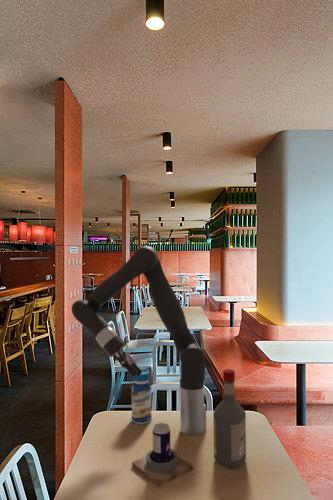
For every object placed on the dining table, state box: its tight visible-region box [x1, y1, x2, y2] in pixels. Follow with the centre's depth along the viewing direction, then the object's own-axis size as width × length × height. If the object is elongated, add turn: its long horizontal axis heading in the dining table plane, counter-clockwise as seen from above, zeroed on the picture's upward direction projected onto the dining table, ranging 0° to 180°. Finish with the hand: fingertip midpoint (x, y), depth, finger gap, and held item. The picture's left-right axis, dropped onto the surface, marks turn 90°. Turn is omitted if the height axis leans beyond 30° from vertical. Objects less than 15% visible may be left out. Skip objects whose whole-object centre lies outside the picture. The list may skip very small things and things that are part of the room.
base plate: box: [131, 455, 194, 488], centre depth 127 cm, size 14×14×2 cm
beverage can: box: [152, 422, 171, 463], centre depth 127 cm, size 6×6×12 cm
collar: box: [145, 448, 179, 473], centre depth 127 cm, size 10×10×2 cm
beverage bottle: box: [130, 369, 153, 425], centre depth 162 cm, size 8×8×20 cm
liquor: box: [213, 368, 247, 470], centre depth 130 cm, size 9×9×30 cm
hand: (138, 374), depth 144 cm, fingers open, 8 cm apart
